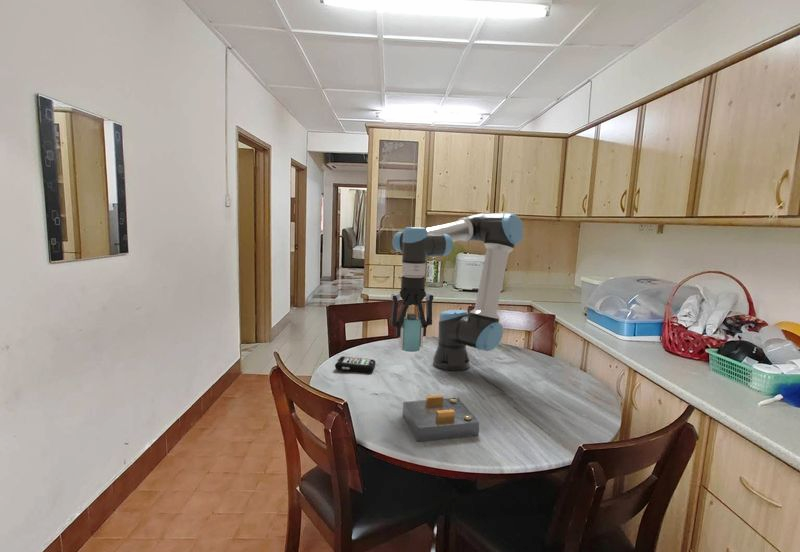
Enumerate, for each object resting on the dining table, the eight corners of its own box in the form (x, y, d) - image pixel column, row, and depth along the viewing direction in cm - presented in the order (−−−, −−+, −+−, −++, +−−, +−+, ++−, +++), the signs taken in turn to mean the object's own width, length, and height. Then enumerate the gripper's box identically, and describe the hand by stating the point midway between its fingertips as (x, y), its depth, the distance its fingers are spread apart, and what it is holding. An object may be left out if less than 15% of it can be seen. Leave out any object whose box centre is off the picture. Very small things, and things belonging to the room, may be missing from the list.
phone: (372, 375, 156) (372, 364, 156) (333, 373, 157) (333, 362, 156) (375, 365, 167) (375, 355, 166) (339, 363, 168) (339, 353, 167)
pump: (416, 345, 135) (418, 312, 134) (421, 351, 129) (423, 316, 128) (399, 346, 134) (400, 312, 132) (403, 352, 128) (405, 316, 126)
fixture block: (457, 409, 129) (458, 390, 128) (478, 435, 114) (479, 413, 113) (402, 414, 125) (403, 394, 124) (417, 441, 110) (418, 419, 109)
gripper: (386, 277, 122) (384, 351, 126) (445, 277, 127) (441, 348, 130) (381, 274, 130) (379, 343, 133) (437, 274, 134) (434, 341, 137)
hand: (410, 346), depth 131 cm, fingers closed on pump, 6 cm apart
